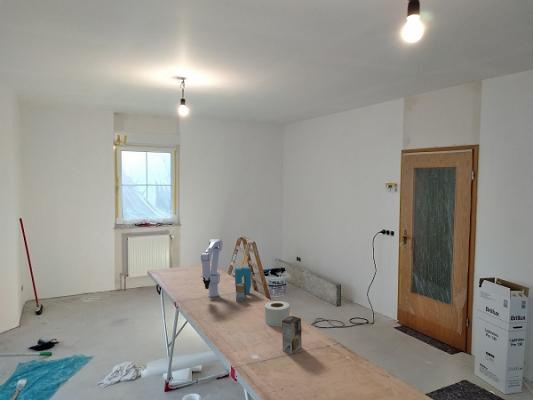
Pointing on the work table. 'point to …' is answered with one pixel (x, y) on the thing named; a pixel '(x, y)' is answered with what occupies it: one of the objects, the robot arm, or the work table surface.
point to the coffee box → (291, 334)
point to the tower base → (240, 299)
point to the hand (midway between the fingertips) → (206, 287)
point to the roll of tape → (276, 313)
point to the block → (247, 278)
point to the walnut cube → (240, 288)
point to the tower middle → (240, 294)
